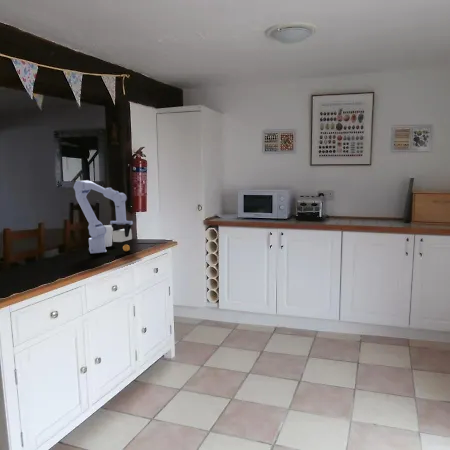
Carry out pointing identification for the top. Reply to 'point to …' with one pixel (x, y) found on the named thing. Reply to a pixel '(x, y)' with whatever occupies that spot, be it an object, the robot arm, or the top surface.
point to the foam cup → (108, 235)
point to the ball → (126, 247)
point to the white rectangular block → (121, 235)
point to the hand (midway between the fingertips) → (122, 236)
